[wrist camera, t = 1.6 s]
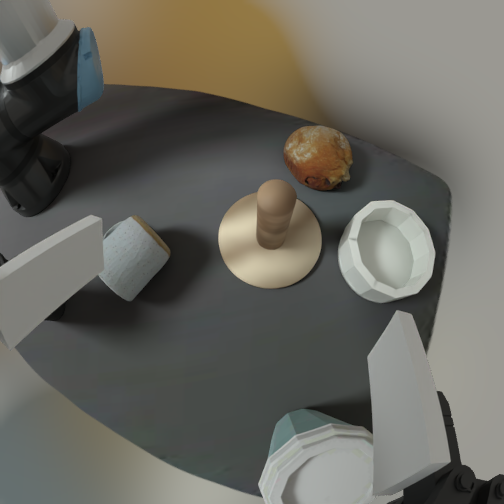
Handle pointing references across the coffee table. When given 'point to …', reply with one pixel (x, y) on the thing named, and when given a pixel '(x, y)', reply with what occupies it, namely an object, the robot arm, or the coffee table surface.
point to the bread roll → (318, 157)
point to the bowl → (386, 252)
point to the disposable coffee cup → (318, 461)
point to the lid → (270, 237)
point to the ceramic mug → (132, 256)
